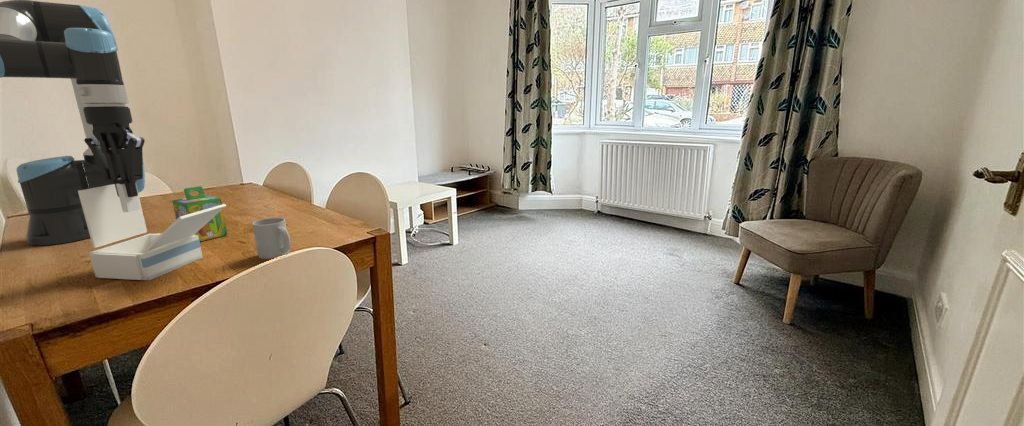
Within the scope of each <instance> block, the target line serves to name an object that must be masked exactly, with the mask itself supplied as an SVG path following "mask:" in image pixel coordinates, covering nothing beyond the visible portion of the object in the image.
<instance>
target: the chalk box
mask: <svg viewBox="0 0 1024 426" xmlns="http://www.w3.org/2000/svg"><path fill="white" fill-rule="evenodd" d="M195 191H196V192H198V194H197V195H192V194H191V193H192V192H195ZM183 193H184V196H185V198H179V199H178V198H177V199H174V200H172V201H171V202H172V206H173V210H174V215H175V216H174V217H175V221H176V220H177V219H178V218H179V217H181V216H184V215H187V214H191V213H194V212H198V211H201V210H205V209H208V208H212V207H215V206H219V205H222V204H223V202H222V199H221V198H220V197H216V196H214V195H206V194H205V192H204V189H203V187H202V186H200V185H198V186H191V187H185V188H184V189H183ZM226 225H227V224H226V219H225V214H224V208H223V209H222V210H221V211H220V212H219V213H218V214H217V215H216V216H214V217H213V218H212V219H211V220H210V221H209V222H208V223H207V224H206V225H204V226H203V227H202V228H201V229H200V230H199V231H198V232H197V233H195V234H194V235H198V237H199V240H200V242H204V241H208V240H212V239H213V240H214V239H218V238H222V237H223V238H224V237H227V236H228V231H227V230H228V229H227V226H226Z"/></svg>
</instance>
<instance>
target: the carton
mask: <svg viewBox="0 0 1024 426" xmlns="http://www.w3.org/2000/svg"><path fill="white" fill-rule="evenodd" d="M162 233H163V232H160V233H159V232H158V233H147V234H146V233H145V234H144V235H143V234H142V235H140V236H137V237H134V238H130V239H127V240H124V241H121V242H120V241H119V242H117V243H115V244H110V245H108V246H105V247H102V248H98V249H95V250H91V251H89V252H88V254H89V258H90V261H91V266H92V269H93V271H94V272H93V273H94V276H95V278H97V279H98V278H99V279H115V280H116V279H118V280H131V281H132V280H133V281H135V280H136V281H151V280H154V279H155V278H156V279H157V278H159V277H161V276H163V275H165V274H168V273H170V272H172V271H175V270H178V269H180V268H182V267H185V266H188V265H190V264H193V263H195V262H196V261H199V260H202V259H203V258H204V257H203V253H202V248H201V246H202V245H201V241H200V240H199V237H198V235H192V236H189V237H186V238H184V239H181V240H178V241H175V242H172V243H169V244H166V245H163V246H161V247H158V248H155V249H152V250H149V251H146V250H145V249H146V248H147V247H148V246H149V245H150V244H151V243H152V242H153V241H154V240H155V239H156V238H157V237H158V236H160V235H161V234H162Z"/></svg>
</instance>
